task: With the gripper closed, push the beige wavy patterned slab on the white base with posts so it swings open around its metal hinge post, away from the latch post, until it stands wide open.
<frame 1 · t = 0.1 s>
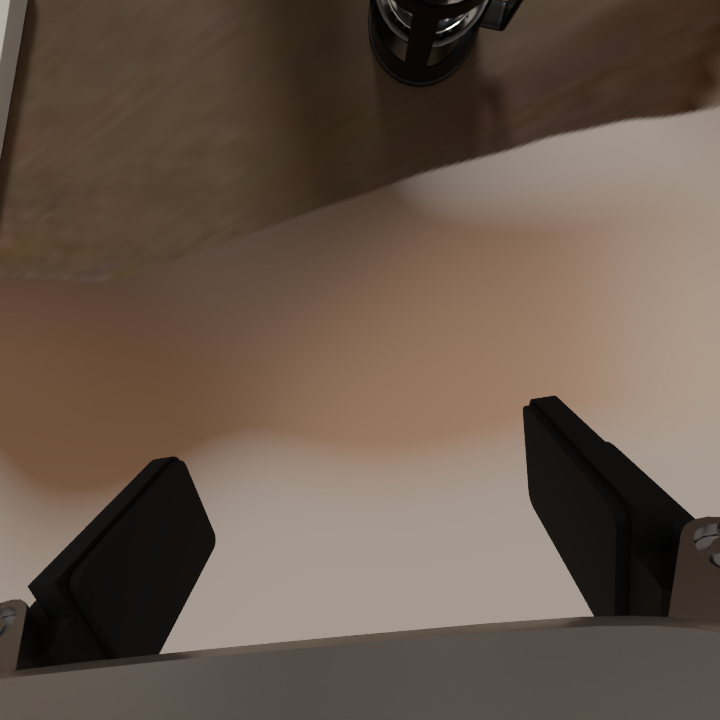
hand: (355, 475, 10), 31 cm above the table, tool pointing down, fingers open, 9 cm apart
french press: (428, 24, 32), on the table
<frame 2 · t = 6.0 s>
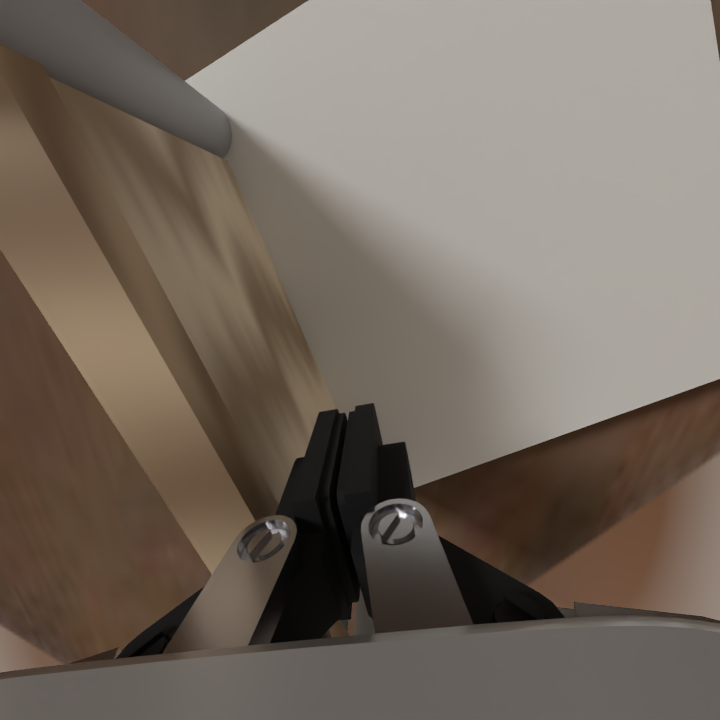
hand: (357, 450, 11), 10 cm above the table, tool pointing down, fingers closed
beige wavy patterned slab: (255, 371, 13), point 8 cm above the table, hinge at -5.0°, touching gripper
white base with posts: (430, 261, 19), on the table
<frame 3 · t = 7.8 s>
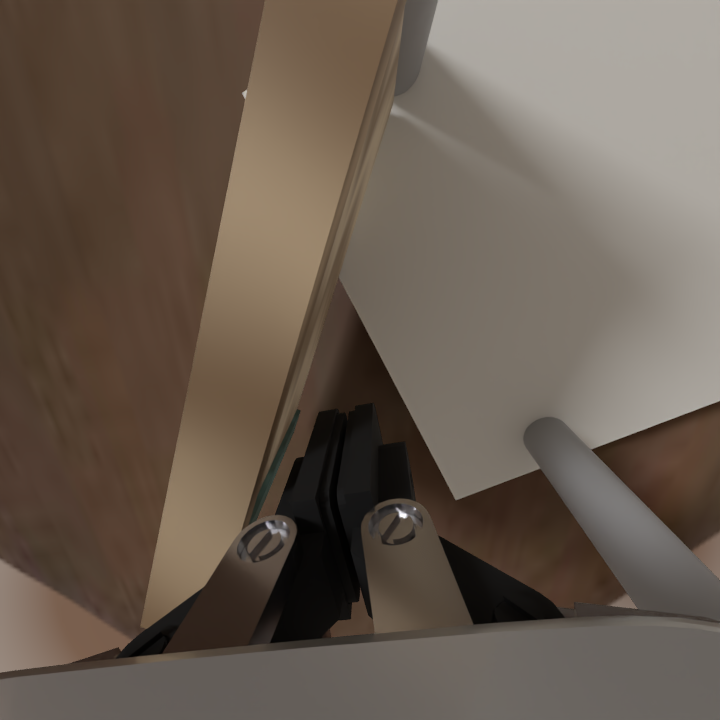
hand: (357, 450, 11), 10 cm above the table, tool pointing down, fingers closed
beige wavy patterned slab: (298, 309, 12), point 8 cm above the table, hinge at -46.2°, touching gripper
white base with posts: (610, 203, 18), on the table
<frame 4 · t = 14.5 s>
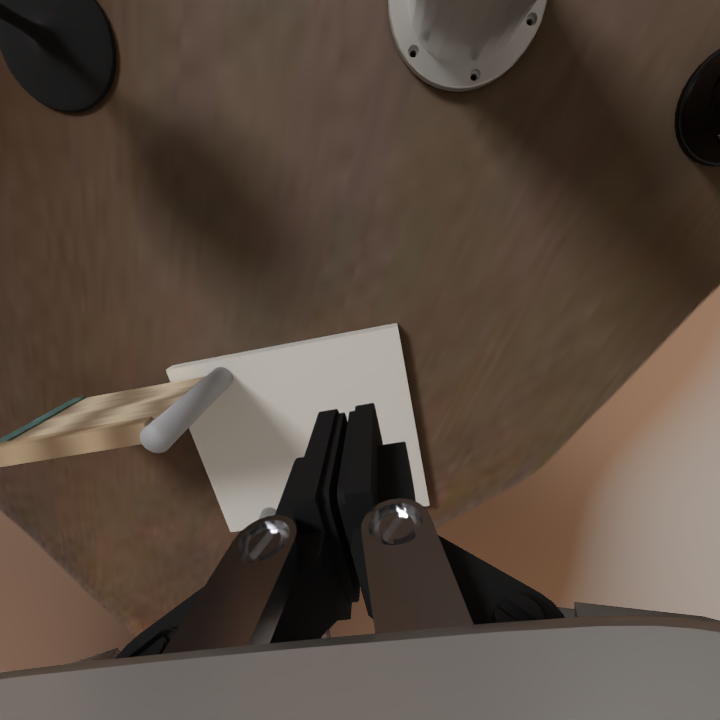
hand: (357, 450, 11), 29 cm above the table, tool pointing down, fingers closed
beige wavy patterned slab: (107, 416, 36), point 7 cm above the table, hinge at -90.1°
wine glass: (60, 45, 33), on the table
white base with posts: (306, 434, 44), on the table
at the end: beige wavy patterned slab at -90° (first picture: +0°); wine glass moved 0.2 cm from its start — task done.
